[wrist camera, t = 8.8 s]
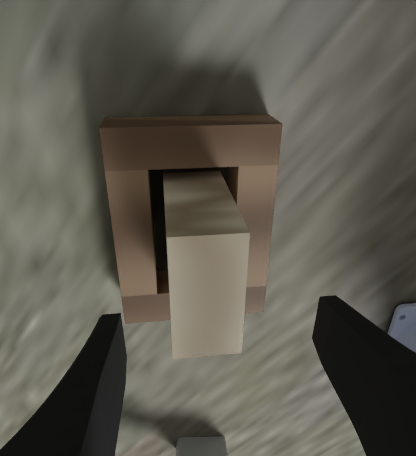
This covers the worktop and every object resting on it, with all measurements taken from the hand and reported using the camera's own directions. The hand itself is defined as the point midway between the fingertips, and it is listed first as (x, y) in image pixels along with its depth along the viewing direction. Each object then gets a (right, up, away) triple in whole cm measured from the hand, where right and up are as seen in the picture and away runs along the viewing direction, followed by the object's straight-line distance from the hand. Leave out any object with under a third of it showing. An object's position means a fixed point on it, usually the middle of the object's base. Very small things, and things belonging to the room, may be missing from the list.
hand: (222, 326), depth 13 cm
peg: (-2, +4, +8) cm, 9 cm away
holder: (-1, +4, +8) cm, 9 cm away
